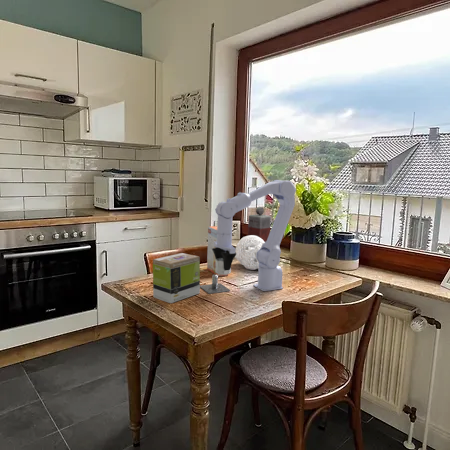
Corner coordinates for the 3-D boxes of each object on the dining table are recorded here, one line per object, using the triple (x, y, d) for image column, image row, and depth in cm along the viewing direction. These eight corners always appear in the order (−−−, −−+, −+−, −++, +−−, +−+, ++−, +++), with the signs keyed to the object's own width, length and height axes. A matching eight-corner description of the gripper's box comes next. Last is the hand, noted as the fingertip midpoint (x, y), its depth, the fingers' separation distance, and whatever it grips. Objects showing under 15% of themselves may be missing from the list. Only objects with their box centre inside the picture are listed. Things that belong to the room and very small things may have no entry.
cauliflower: (223, 247, 181) (245, 224, 178) (245, 259, 192) (266, 237, 189) (240, 273, 166) (264, 248, 163) (262, 285, 178) (285, 261, 174)
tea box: (181, 288, 143) (182, 251, 141) (200, 294, 137) (201, 256, 135) (152, 297, 132) (152, 258, 129) (170, 304, 125) (171, 263, 123)
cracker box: (229, 275, 162) (230, 230, 159) (216, 276, 160) (218, 230, 157) (218, 268, 175) (219, 225, 172) (206, 268, 173) (207, 225, 170)
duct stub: (220, 284, 149) (220, 271, 148) (229, 291, 141) (230, 277, 140) (199, 286, 145) (200, 273, 144) (208, 293, 137) (209, 279, 136)
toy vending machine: (254, 253, 210) (256, 205, 206) (269, 257, 202) (271, 207, 198) (243, 255, 204) (245, 206, 200) (258, 259, 196) (261, 208, 192)
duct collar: (226, 269, 143) (226, 257, 142) (232, 273, 138) (233, 260, 137) (213, 271, 140) (213, 258, 140) (219, 274, 135) (219, 261, 135)
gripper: (207, 230, 142) (206, 264, 143) (223, 237, 129) (222, 273, 131) (223, 230, 145) (222, 263, 147) (240, 236, 132) (239, 272, 134)
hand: (223, 268), depth 139 cm, fingers closed on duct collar, 6 cm apart
